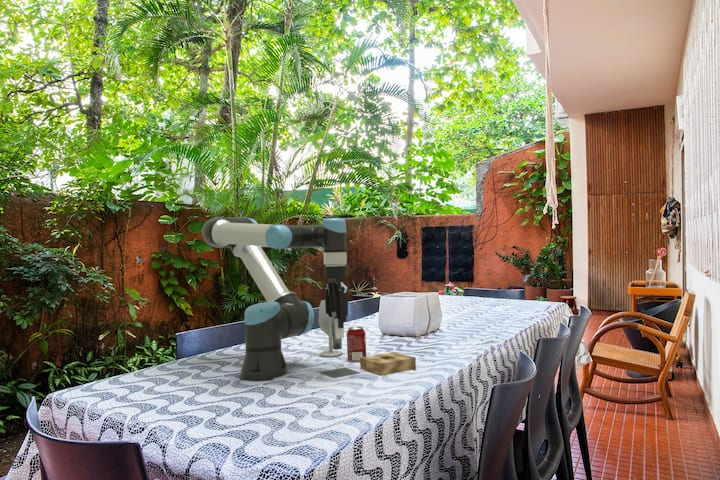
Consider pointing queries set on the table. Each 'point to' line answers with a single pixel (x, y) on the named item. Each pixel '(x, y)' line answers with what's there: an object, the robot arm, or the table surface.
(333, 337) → the pin
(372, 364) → the hole block
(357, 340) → the soda can
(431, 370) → the table surface
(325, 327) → the wineglass
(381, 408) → the table surface
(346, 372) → the mat
